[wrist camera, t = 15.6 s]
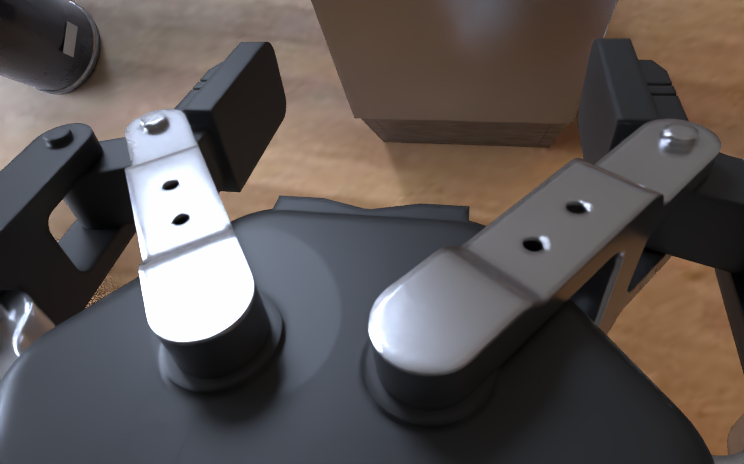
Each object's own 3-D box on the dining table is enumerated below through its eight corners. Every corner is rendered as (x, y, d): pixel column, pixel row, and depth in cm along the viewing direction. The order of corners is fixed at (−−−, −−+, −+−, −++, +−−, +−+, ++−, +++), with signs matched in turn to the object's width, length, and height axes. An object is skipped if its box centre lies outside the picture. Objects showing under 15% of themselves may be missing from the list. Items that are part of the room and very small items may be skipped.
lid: (253, -185, 18) (216, -69, 16) (694, -233, 15) (709, -98, 13) (356, 107, 34) (343, 180, 33) (572, 111, 31) (572, 191, 30)
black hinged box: (397, -50, 44) (374, -132, 35) (564, -58, 41) (591, -149, 32) (383, 142, 44) (356, 114, 35) (549, 147, 42) (571, 119, 32)
